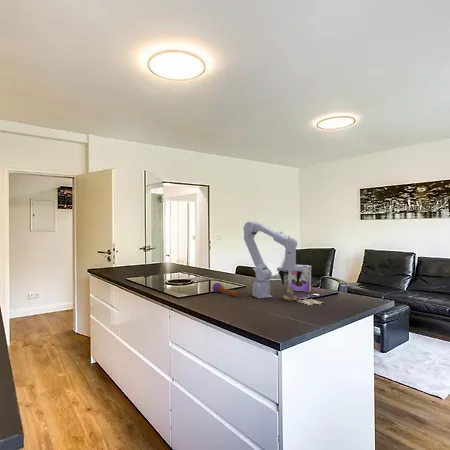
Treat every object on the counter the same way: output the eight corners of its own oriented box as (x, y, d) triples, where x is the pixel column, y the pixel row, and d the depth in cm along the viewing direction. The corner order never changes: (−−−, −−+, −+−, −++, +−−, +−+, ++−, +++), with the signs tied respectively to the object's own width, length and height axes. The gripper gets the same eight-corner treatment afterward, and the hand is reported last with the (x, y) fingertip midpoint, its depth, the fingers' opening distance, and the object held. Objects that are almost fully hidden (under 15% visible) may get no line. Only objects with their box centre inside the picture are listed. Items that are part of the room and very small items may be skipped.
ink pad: (299, 299, 177) (299, 297, 177) (292, 297, 183) (292, 295, 183) (311, 298, 181) (311, 296, 181) (304, 296, 186) (304, 294, 186)
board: (308, 305, 164) (308, 304, 164) (296, 301, 173) (296, 300, 173) (323, 303, 168) (323, 302, 168) (311, 299, 177) (311, 298, 177)
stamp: (288, 301, 174) (289, 288, 174) (283, 299, 178) (283, 286, 178) (296, 300, 176) (296, 287, 176) (290, 298, 180) (291, 286, 180)
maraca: (232, 291, 180) (210, 283, 195) (233, 301, 181) (211, 292, 196) (240, 288, 184) (217, 280, 199) (240, 297, 185) (218, 289, 200)
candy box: (287, 290, 204) (287, 264, 204) (289, 289, 209) (290, 263, 209) (309, 293, 197) (309, 266, 197) (311, 291, 202) (311, 265, 203)
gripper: (276, 260, 176) (275, 285, 176) (303, 261, 171) (302, 287, 171) (278, 259, 183) (278, 283, 182) (304, 260, 178) (304, 285, 177)
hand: (290, 285), depth 177 cm, fingers open, 7 cm apart
